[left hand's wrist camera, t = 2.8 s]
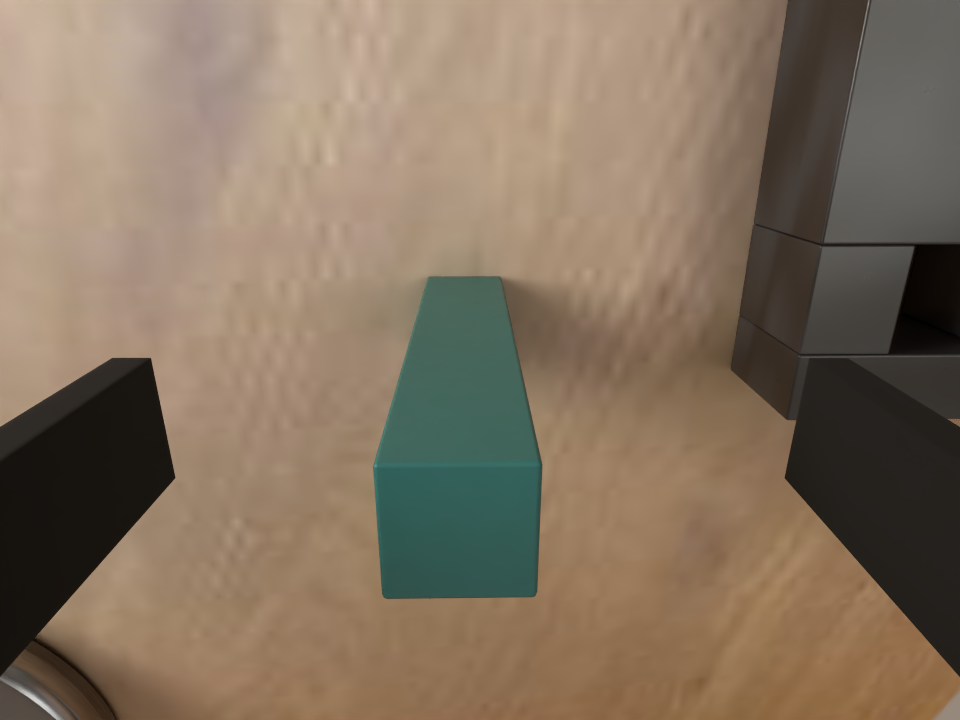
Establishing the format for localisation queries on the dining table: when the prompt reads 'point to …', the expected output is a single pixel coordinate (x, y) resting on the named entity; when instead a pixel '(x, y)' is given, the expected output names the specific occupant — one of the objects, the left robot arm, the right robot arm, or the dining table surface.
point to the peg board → (859, 204)
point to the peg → (459, 454)
